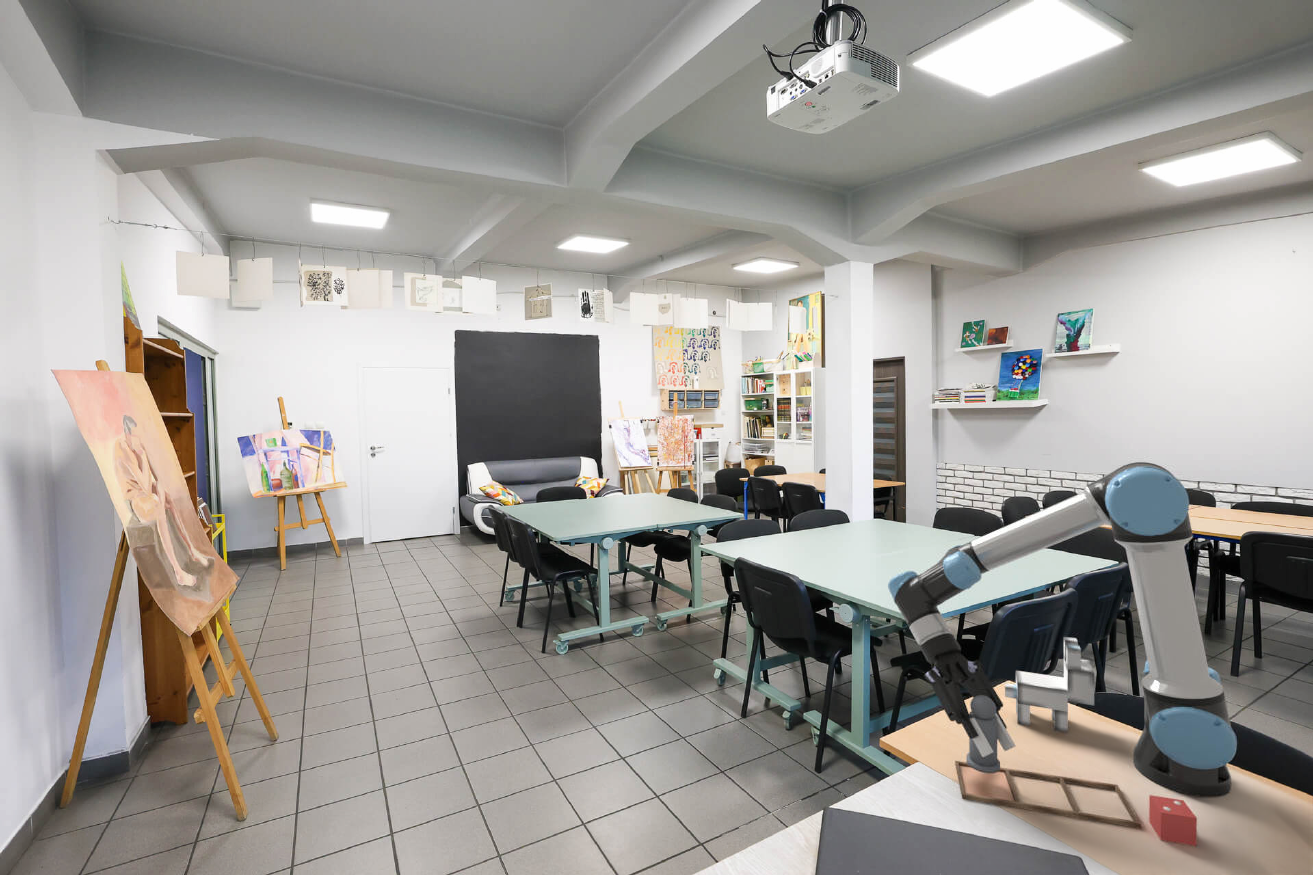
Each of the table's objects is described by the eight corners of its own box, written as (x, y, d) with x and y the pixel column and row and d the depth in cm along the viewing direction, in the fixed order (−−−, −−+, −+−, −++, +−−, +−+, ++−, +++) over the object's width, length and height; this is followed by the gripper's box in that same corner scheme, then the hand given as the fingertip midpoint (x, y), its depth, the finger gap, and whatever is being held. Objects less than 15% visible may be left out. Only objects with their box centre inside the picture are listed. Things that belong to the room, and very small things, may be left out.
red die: (1183, 826, 110) (1183, 799, 110) (1196, 846, 106) (1196, 817, 106) (1149, 821, 112) (1149, 794, 112) (1160, 839, 107) (1161, 811, 107)
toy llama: (1004, 707, 155) (1004, 629, 154) (1088, 722, 147) (1088, 639, 146) (1005, 721, 148) (1005, 640, 147) (1094, 737, 140) (1094, 651, 139)
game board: (1117, 788, 122) (1117, 784, 122) (1141, 828, 111) (1141, 823, 110) (955, 764, 132) (955, 760, 132) (962, 798, 120) (962, 794, 120)
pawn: (997, 758, 126) (997, 691, 125) (1002, 775, 121) (1002, 705, 120) (964, 753, 128) (964, 687, 128) (968, 770, 123) (968, 701, 122)
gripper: (958, 640, 141) (1021, 748, 126) (893, 653, 135) (952, 767, 120) (977, 625, 136) (1045, 735, 121) (910, 638, 130) (974, 755, 115)
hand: (999, 751), depth 121 cm, fingers closed on pawn, 5 cm apart
